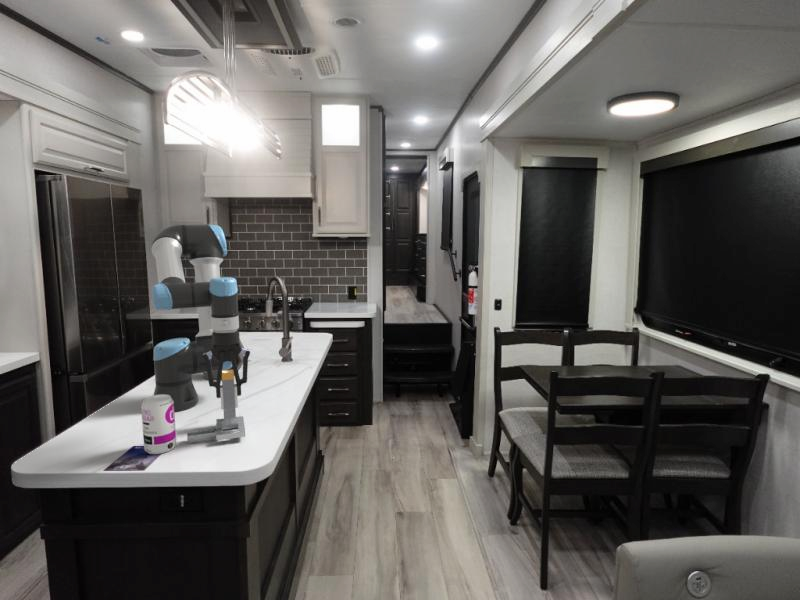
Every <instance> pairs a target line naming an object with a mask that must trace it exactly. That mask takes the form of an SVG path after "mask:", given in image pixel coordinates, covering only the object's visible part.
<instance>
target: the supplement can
mask: <svg viewBox="0 0 800 600" xmlns="http://www.w3.org/2000/svg"><path fill="white" fill-rule="evenodd" d="M140 409H141V421H142V423H141V425H142V435H143V438H142V439H143V446H144V448H143V449H144V451H145V452H146V453H148V454H149V455H162V454H165V453H168V452H170V451H172V450H173V449H174V448H175V447H176V446H177V433H176V431H177V430H176V420H175V412H174V401H173V400H172V398H171V396H170V395H166V394H160V395H153V394H152V395H149V396H147V397H144V399H143V401H142V403H141V406H140Z"/></svg>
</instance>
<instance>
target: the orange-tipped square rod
mask: <svg viewBox="0 0 800 600" xmlns="http://www.w3.org/2000/svg"><path fill="white" fill-rule="evenodd" d="M222 382H223V401H224V409H223V419H230V418H236V417H237V415H236V412H235V409H236V408H235V391H234V384H235V376H234V371H233V370H223V371H222V379H221V383H222Z"/></svg>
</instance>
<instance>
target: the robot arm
mask: <svg viewBox="0 0 800 600" xmlns="http://www.w3.org/2000/svg"><path fill="white" fill-rule="evenodd" d="M151 241H152V242H151V246H150V249H151V250H150V251H151V254H152V256H153V258H154V259H155V265H156V273H157V281H158V283H157V284H153V285H152V287H151V289H152V290H151V291H152V304H153V307H154V309H155V310H176V309H177V310H178V309H190V308H197V316H198V328H199V331H198V333H197V334H196V335H195V340H194V341H191V340H190V339H189V337H188V338H187V337H176V338H171V339H170V338H169V339H166V340H164V341H161V342H159V343H157V344H156V345H155V346H154V348H153V359H152V361H154V363H153V364H154V381H155V386H154V387H155V388H154V392H153V394H152V396H153V395H160V394H166V395H170V396H171V398H172V400H173V401H174V413H176V412H181V411H184V410H185V411H186V410H188V409H191V408H193V407H196V405H198V403H199V394H198V393H197V390H196V388H195V386H194V383H193V378H192V375H198V374H203V373H208V379H207V380H208V386H209V387H211V388H212V387H213V388H215V395H216V398H217V399H220V408H221V410H224V401H223V385H221V384H222V379H221V376H222V371H223V370H228V369H230V368H231V367H233V371H234V375H235V376H234V381H235V383H234V391H235V409H236V408H239V405H238V404H239V402H238V397H240V396H242V385H244V384H246V383H247V382H248V367H249V363H248V361H249V357H250V355H251V351H250V349H249V348H247V349H246V348H244V349H243V348H242V347H241V345H240V341H241V339H240V331H239V330H238V329H239V328H240V319H239V318H240V317H239V305H238V304H239V303H238V302H239V301H238V300H239V299H238V298H239V297H238V295H239V294H238V291H239V288H238V284H237V283H238V282H237V279H236V278H234V277H229V276H228V277H227V276H226V277H224V276H223V277H221V271H220V270H221V268H220V265H221V264H222V262H223V261H224V257H226V256H227V254H228V248H227V240H226V237H225V233H224V231H223V228H222V227H221V226H219V225H216V224H208V223H207V224H172V225H170V226H166V227H165V228H162V229H161V230H160V231H158V233H157V234H156V235H155V236H154V237H153V239H152V240H151ZM181 257H182V258H188V259H189V263H190V264H191V265H192V266H193V267H194V276H195V277H194V278H195V282H186V279H185V273H184V268H183V264H182V258H181ZM240 352H242V356H243V364H242V378H240V373H239V371H238V368H237V364H236V358H237V356H238V355H239V354H240ZM216 371H217V379H215V380H216V381H214V379H213V374H212V372H216Z"/></svg>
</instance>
